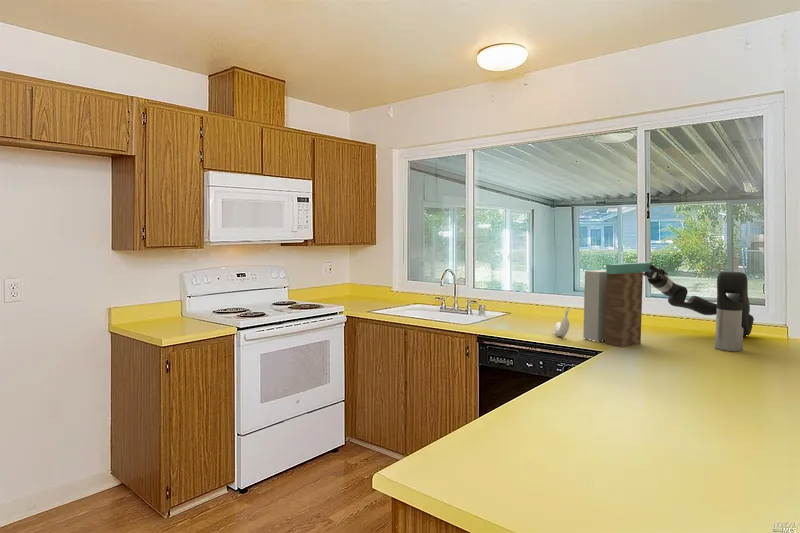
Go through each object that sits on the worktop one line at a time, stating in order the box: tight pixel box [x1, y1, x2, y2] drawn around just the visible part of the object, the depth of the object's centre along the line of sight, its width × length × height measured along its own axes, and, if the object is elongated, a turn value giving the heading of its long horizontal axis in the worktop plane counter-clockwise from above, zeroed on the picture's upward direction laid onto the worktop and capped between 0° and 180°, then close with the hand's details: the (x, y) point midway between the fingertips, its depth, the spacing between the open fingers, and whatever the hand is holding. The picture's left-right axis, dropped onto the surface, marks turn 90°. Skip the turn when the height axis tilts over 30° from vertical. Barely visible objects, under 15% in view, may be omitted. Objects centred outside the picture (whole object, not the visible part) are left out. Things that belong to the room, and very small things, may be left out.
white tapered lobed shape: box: [553, 307, 570, 338], centre depth 252 cm, size 5×19×15 cm, turn 179°
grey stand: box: [582, 269, 607, 342], centre depth 245 cm, size 14×8×32 cm, turn 121°
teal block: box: [605, 262, 652, 274], centre depth 235 cm, size 26×4×4 cm, turn 121°
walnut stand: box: [604, 272, 644, 348], centre depth 235 cm, size 14×8×32 cm, turn 121°
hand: (641, 265), depth 240 cm, fingers open, 8 cm apart
